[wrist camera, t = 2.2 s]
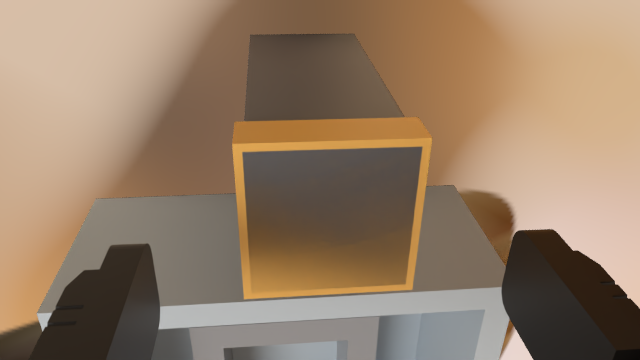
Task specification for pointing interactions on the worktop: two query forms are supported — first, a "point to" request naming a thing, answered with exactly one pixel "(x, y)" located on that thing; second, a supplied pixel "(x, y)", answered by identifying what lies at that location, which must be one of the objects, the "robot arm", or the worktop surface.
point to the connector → (325, 172)
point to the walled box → (299, 311)
